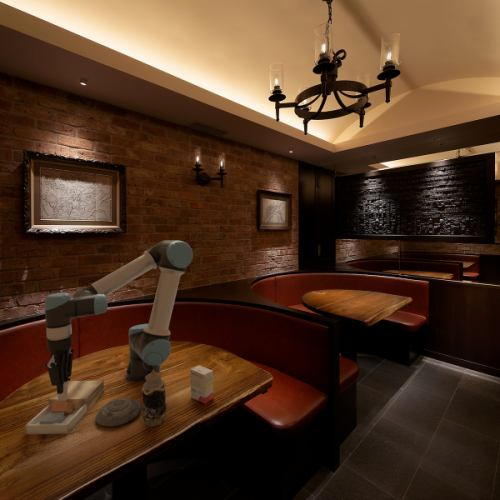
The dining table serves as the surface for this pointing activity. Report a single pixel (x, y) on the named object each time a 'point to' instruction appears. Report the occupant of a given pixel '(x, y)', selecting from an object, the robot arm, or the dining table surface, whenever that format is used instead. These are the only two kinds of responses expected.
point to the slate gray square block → (52, 418)
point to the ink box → (201, 384)
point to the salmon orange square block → (62, 407)
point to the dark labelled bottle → (153, 398)
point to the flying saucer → (118, 412)
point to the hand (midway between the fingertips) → (62, 399)
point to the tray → (58, 428)
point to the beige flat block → (81, 393)
